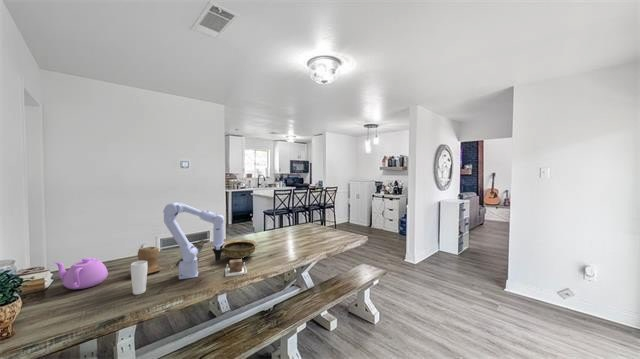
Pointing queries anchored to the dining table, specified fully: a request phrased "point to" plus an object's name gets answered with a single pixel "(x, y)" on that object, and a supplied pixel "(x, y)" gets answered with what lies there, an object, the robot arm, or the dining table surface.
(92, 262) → the teapot
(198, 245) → the bird figurine
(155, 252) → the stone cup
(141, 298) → the dining table surface
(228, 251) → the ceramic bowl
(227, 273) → the standoff plate
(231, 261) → the walnut block
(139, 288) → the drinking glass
